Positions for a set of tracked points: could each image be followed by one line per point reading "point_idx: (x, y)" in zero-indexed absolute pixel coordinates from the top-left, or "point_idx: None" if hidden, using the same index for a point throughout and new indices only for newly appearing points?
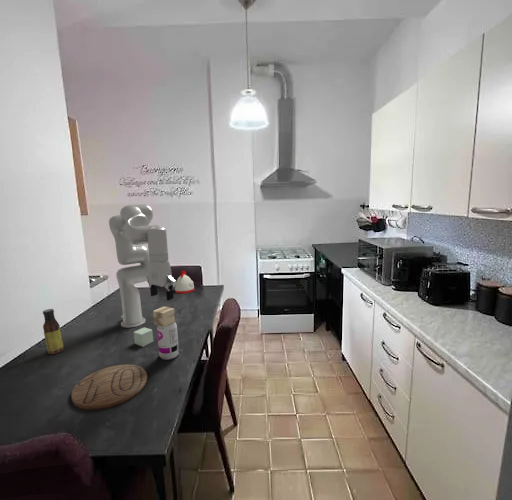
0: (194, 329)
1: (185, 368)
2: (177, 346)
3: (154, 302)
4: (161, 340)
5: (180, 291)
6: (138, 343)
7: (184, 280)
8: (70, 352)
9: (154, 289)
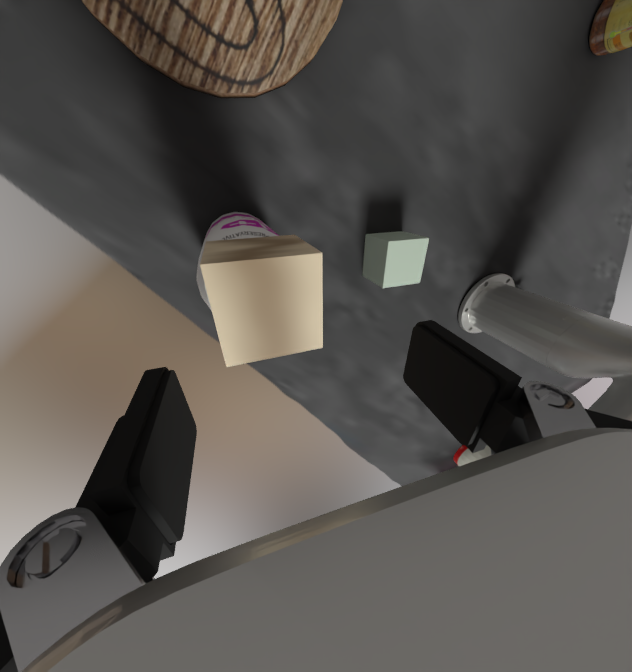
0: (315, 382)
1: (97, 219)
2: None
3: None
4: (230, 221)
5: None
6: (388, 233)
7: None
8: (556, 51)
9: (453, 394)
